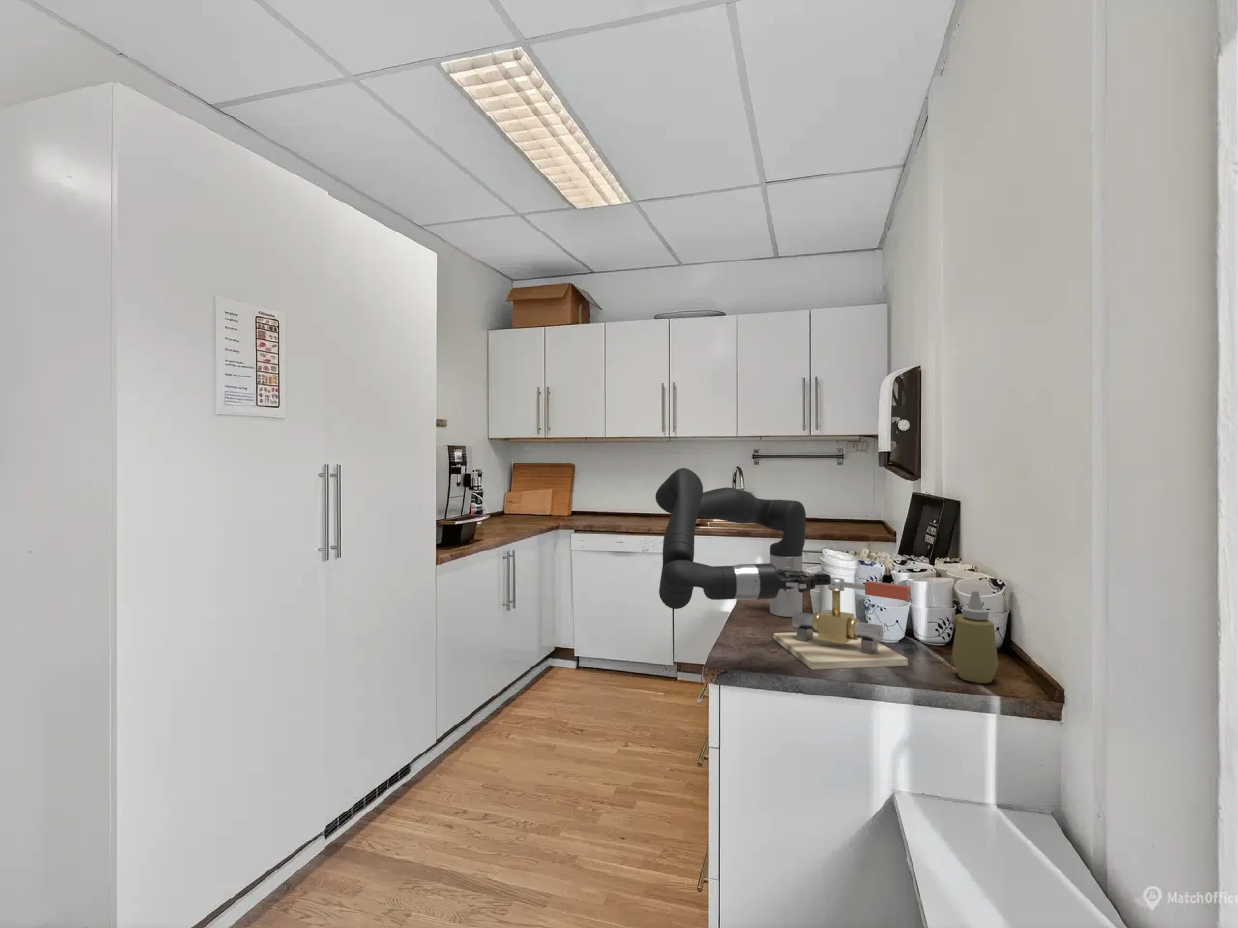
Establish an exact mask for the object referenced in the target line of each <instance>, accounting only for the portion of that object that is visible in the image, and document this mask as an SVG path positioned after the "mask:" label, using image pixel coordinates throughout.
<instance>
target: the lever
mask: <svg viewBox="0 0 1238 928" xmlns="http://www.w3.org/2000/svg"><path fill="white" fill-rule="evenodd" d="M846 588H848V589H852V590H853V589H855V590H860V591H861V590H862V591H864V595H865V596H873V597H880V598H884V599H885V598H886V599H893V600H899V601H907V602H908V601H910V600H911V599H912V598H911V595H912V593H911V591H912V586H911V585H905V584H894V583H890V582H889V583H888V582H881V581H880V582H879V581H873V580H868V581H865V582H864V583H863V584H862V583H856V582H849V581H848V582H847V581H845V578H843V577H841V578H840V577H831V583H830V584H829V585H827V590H829V591H831V592H832V591H840V592H844V591H845V589H846Z"/></svg>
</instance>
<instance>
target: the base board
mask: <svg viewBox="0 0 1238 928" xmlns="http://www.w3.org/2000/svg"><path fill="white" fill-rule="evenodd" d="M861 639H862V638H858V640H852V639H851V640H850V641H849V642H847V643H842V642H837V641H831V640H826V639H821V638H818V633H814V631H813V638H812V639H811V640H809V641H807V642H803V641H798V640H797V631H795V632H792V631H791V632H774V633H773V641H775V642H776V643H778V644H779V645H780V646H782V648H784V649H785V650H786V651H788V652H789V653H790V654H791V655H792V656H794V657H795V658H796V659H798V660H799V661H800V662H801V663H802V664H804V665H805V666H807V667H808V668H809V669H811V670H833V669H835V670H836V669H855V668H856V669H858V668H879V667H880V668H881V667H907V666H909V663H908V662H909V659H908V657H905V656H904V655H902V654H900V653H898V652H896V651H894V649H891V648H890V647H887V646H886V645H884V644H882V643H881V642H878V650H877V651H876V652H875V653H874V654H873V655H870V654H865V653H861Z"/></svg>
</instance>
